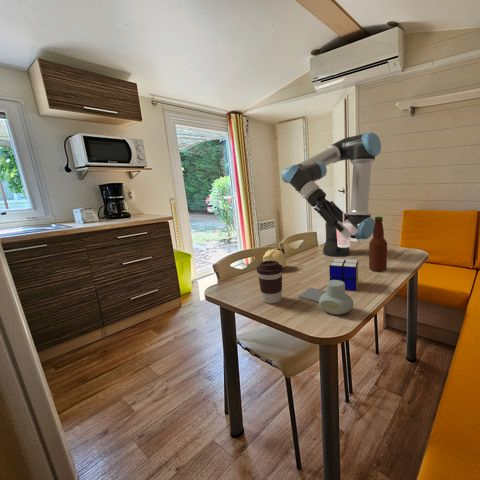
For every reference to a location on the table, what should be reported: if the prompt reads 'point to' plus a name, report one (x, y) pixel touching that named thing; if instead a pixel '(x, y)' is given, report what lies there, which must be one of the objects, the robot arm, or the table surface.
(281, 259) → the sculpture
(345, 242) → the beverage cup
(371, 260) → the bottle
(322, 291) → the slate coaster
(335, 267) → the puzzle cube
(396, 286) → the table surface
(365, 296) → the table surface
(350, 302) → the air freshener
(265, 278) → the coffee cup
